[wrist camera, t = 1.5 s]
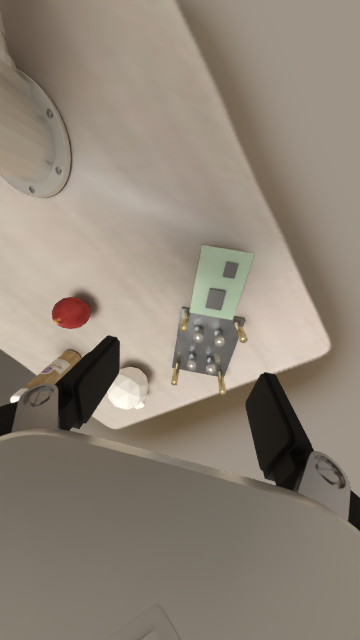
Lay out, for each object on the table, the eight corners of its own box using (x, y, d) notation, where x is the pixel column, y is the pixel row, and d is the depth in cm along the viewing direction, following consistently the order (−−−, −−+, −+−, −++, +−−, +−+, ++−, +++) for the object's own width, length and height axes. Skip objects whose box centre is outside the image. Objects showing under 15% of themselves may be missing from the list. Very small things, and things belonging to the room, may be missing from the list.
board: (201, 244, 24) (201, 245, 22) (250, 252, 24) (255, 254, 21) (190, 307, 28) (189, 313, 26) (230, 314, 28) (233, 321, 26)
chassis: (182, 307, 32) (178, 321, 27) (244, 318, 31) (252, 335, 26) (172, 365, 39) (168, 385, 34) (223, 375, 38) (226, 397, 33)
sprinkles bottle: (75, 347, 40) (21, 395, 28) (85, 362, 42) (39, 412, 30) (60, 351, 41) (3, 398, 29) (71, 365, 43) (21, 414, 31)
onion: (85, 322, 36) (57, 343, 29) (65, 300, 34) (30, 317, 27) (103, 310, 34) (78, 329, 27) (83, 286, 32) (50, 301, 25)
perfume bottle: (103, 365, 39) (124, 394, 45) (95, 400, 31) (122, 429, 38) (139, 353, 39) (155, 384, 46) (139, 384, 32) (158, 416, 38)
